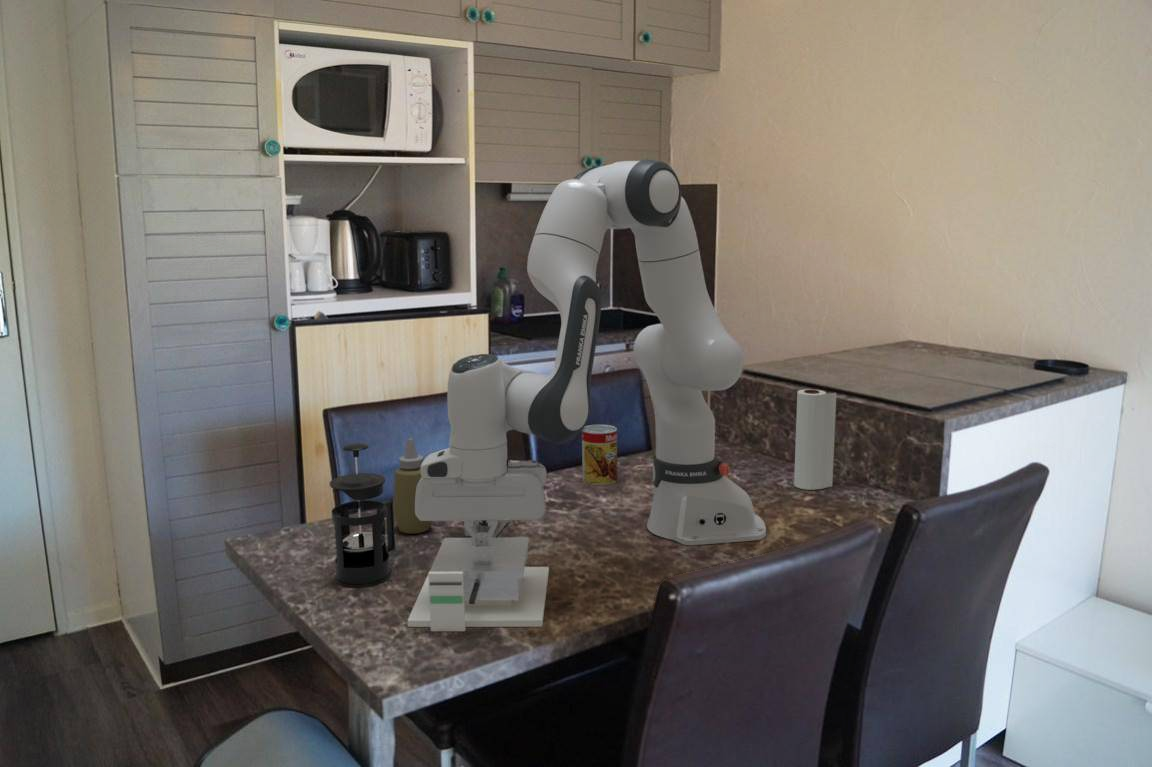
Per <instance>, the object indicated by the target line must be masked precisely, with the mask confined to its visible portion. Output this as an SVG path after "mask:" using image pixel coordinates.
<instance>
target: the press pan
mask: <svg viewBox="0 0 1152 767" xmlns="http://www.w3.org/2000/svg"><path fill="white" fill-rule="evenodd" d="M529 547H530V537H529V536H527V537H525V536H524V537H521V536H519V537H495V538H492V545H491V546H476V547H473V546H472V537H444V538H443V541H442V543H441V544H440V547H439V550H438V552H437V554H436V556H435V558H434V560H433V562H432V565H431V567H430V570H429V571H428V573H429V572H452V571H463V574H464V600H469V604H475V601H476V600H519V594H520V589H521V584H522V579H523V574H524V569H525V567H526V562H527V557H528V552H529Z"/></svg>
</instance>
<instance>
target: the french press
mask: <svg viewBox="0 0 1152 767" xmlns="http://www.w3.org/2000/svg"><path fill="white" fill-rule="evenodd" d="M368 448H369V444H367V443H360V442H357V443H350V444H346V445H344V446H342V450H343V451H345V452H346V451H347V452H352V456H353V458H354V461H355V462H354V464H355V473H350V474H344V475H341V476H338V477H335V478H333V479H331V480H330V481H329V486H330V488H331V489H332V494H336V493H338V492H340V491H341V492H342V493H344V494H345V495H346V496H348V497H349V498H350V499H353V500H352V501H348V502H344V503H341V504H338V505H336V506H334V507H333V508H332V509H331V521H332V522H333V523H334V533H335V546H336V547H335V548H336V549H335V550H336V557H335V558H334V564H335V565H334V566H335V567H334V568H335V569H334V570H335V575H334V581H335V583H336V584H338V585H339V586H341V587H344V588H352V589H357V588H358V589H360V588H361V589H362V588H369V587H374V586H377V585H380V584H382V583H385V582H386V581H388V580H389V579H390V578H391V576H392V574H393V573H392V572H393V571H392V569H391V562H390V561H391V559H390V553H391V552H393V551H395V550H396V537H395V534H396V533H395V518H394V515H393V501H391V500H387V499H385V500H381V501H377V500H371V499H374V498H377V497H379V496H381V495H382V494H383V493H384V484H385V483H386V477H385V476H384V475H381V474H378V473H373V472H372V473H371V472H359V464H358V463H359V462H358V458H359V457H360V451H363V450H367V449H368ZM361 509H376V513H375V514H371V515H367V516H362V512H361ZM349 510H358V512H357V513H358V517H350V513H349V512H350V511H349ZM338 514H339V515H338ZM365 525H371V531H363V530H362V529H363V528H362V526H365ZM350 526H351V527H353V526H356V527H358V528H359V531H358V532H353V533H351V529H350V528H351V527H350Z"/></svg>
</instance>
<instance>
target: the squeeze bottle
mask: <svg viewBox="0 0 1152 767" xmlns="http://www.w3.org/2000/svg"><path fill="white" fill-rule="evenodd" d="M424 459H425V458H424V456H423V455H421V454H418V451H417V447H416V443H415V440H414V438H407V439H406V444H405V451H404V455H402V456H400V457H399V458H398V463H399V464H398V465H399V467H398V468H397V469H396V470H395V471H394V481H393V497H392V498H393V500H392V502H393V515H394V521H395V522H396V526H397V527H398V529H399V531H400V532H401V533H405V534H407V535H408V534H413V535H414V534H420V533H424V532H427V531H429V530H430V529H431V526H432V522H433V521H420V520H419V519H418V518H417V516H416V515H415V494H416V487H417V484H418V482H419V481H420V479H421V477H422V476H421V472H420V468H421V464H422V462H423V461H424Z"/></svg>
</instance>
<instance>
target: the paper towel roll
mask: <svg viewBox="0 0 1152 767" xmlns="http://www.w3.org/2000/svg"><path fill="white" fill-rule="evenodd" d="M796 392H797V394H796V396H797V397H796V417H795V418H796V423H795V446H794V447H795V448H794V449H795V450H794V472H793V473H794V476H793V485H794V487H795V488H797V489H800V490H807V491H809V490H810V491H811V490H813V491H815V490H822V489H826V488H833V481H834V480H833V479H834V478H833V476H834V458H835V457H834V453H835V436H836V435H835V434H836V430H835V429H836V411H837V392H832V393H831V392H830V393H827V392H826V391H824V390H820V389H812V388H811V389H810V388H809V389H807V388H806V389H799V390H797V391H796Z"/></svg>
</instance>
